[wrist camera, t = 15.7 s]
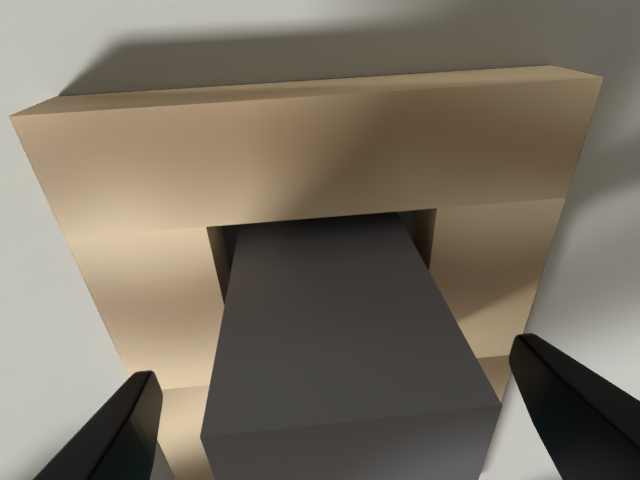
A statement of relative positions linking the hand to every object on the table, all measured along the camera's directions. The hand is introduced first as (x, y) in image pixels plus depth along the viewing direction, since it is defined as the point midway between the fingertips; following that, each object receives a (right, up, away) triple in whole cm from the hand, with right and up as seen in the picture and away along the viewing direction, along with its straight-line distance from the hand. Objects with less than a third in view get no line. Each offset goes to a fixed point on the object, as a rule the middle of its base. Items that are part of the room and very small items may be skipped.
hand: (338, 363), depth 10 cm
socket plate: (0, -2, +6) cm, 7 cm away
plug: (0, +2, +3) cm, 4 cm away
